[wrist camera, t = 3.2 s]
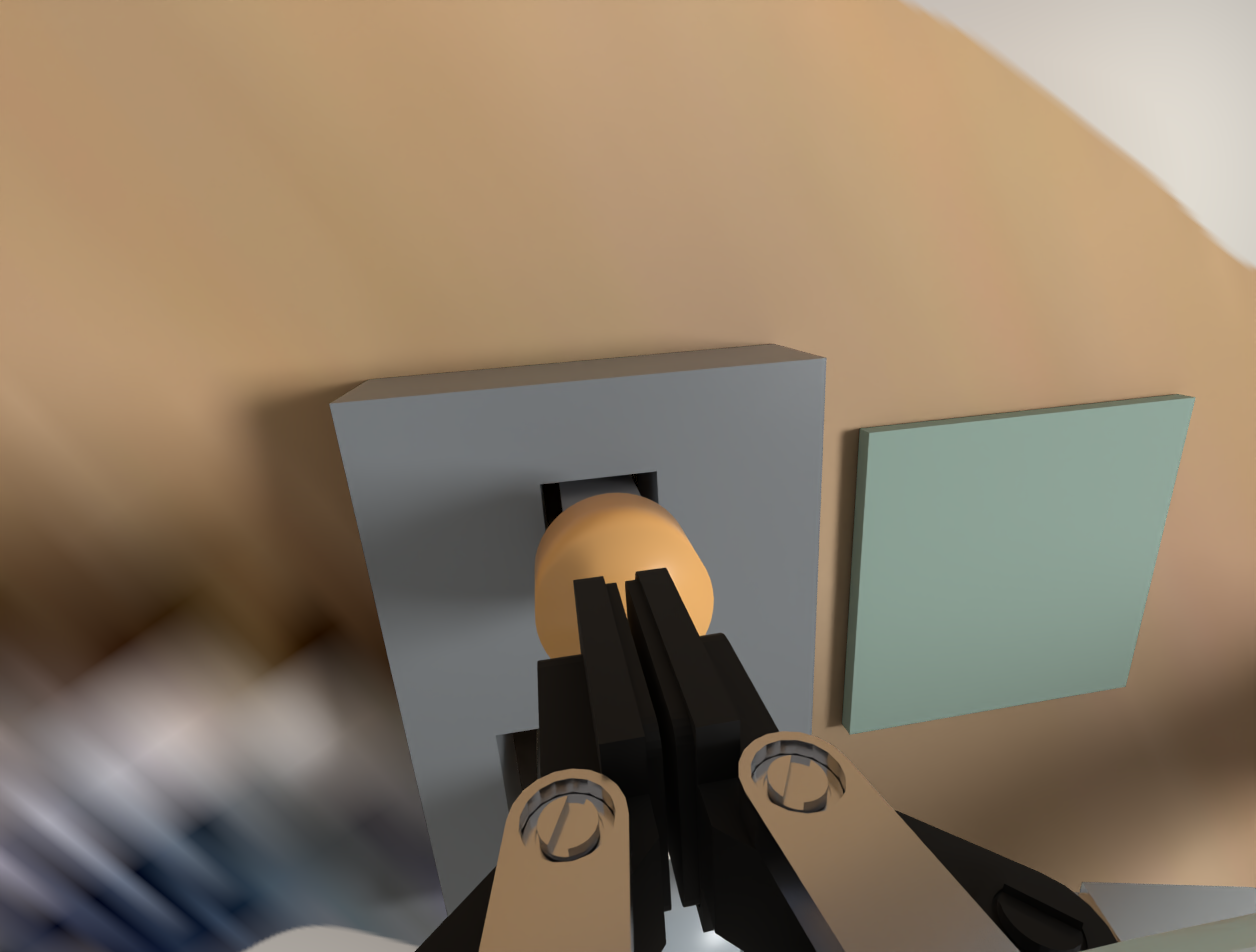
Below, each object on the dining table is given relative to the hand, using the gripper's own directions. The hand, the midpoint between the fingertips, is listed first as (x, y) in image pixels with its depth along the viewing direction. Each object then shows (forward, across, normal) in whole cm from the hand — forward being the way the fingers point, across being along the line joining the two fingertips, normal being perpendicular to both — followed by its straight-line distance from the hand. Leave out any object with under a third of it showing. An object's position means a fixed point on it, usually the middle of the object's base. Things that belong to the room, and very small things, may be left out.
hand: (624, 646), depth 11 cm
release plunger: (+7, 0, 0) cm, 7 cm away
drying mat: (+9, -15, +5) cm, 18 cm away
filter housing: (+9, 0, +6) cm, 10 cm away
